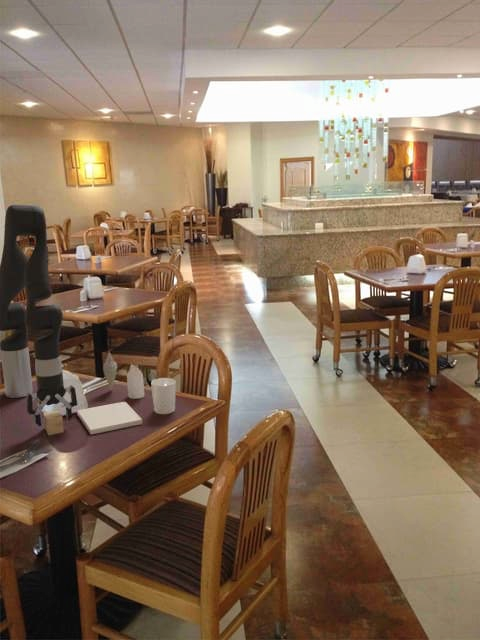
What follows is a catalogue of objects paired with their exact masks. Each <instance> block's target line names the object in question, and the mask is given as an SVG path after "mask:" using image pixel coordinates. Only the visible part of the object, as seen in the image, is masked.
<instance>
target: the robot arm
mask: <svg viewBox="0 0 480 640" xmlns="http://www.w3.org/2000/svg"><path fill="white" fill-rule="evenodd" d="M4 216H5V218H4V231H3V232H4V234H3V237H4V238H3V249H2V255H1V260H0V332H5V331H12V330H13V332H12V333H11V334H10V335H8V336H6V337H5V338H3V339H1V341H0V357H1V365H2V372H3V373H2V374H3V384H4V391H5V392H4V393H5V397H7V398H11V399H18V398H24V397H26V407H27V408H26V411H27V412H28V414H29V415H34V423H35V424H36V425H37V426H38V427H42V419H41V414H40V413H41V411H42V410H43V409H44V408H45V406H52V405H58V404H59V403H61V404H62V405H64V406H65V416H66V420H67V421H68V422H69V421H71V419H72V418H73V411H72V408H73V407H76V406H78V400H77V393H76V388H75V387H74V386H73V385H69V386H68V387H65V385H64V375H63V369H64V368H63V365H62V364H63V363H62V360H61V359H62V358H61V353H60V332H61V329H62V323H63V318H64V317H63V316H64V315H63V314H64V313H63V310H62V308H61V307H60V306H58V305H57V304H48V305H38V306H37V304H38V303H39V302H42V301H45V300H48V299H50V298H51V297H52V294H53V290H52V284H51V280H50V273H49V272H50V271H49V266H48V239H47V235H48V234H47V221H46V220H47V218H46V215H45V212H44V209H43V208H42V207H41V206H38V205H28V204H27V205H25V204H11V205H9V206H8V207H7V209H6V211H5V215H4ZM18 237H34V240H35V244H34V248H33V251H32V252H31V255H30V257H29V258H28V256H27V254H25V252H24V251H23V249H22V247H20V245H19V243H18V241H17V239H18ZM24 289H25V290H26V306H25V305H24V304H23V303H22V302H19V301H18V302H12V301H14V300H15V298H16V297H17V296H19V294H20V293H22V292H23V290H24ZM28 330H30V331H32V332H37V331H44V330H49V332H48V333H47V334H45V335H43V336H40V337H37V338H36V339H34V341H33V350H34V359H35V360H34V361H35V362H34V368H35V377H36V387H37V391H36V392H33V381H32V380H33V379H32V378H33V377H32V371H31V359H30V353H29V352H30V350H29V343H28V342H29V332H28ZM66 393H67V394H69V395H70V399H71V401H69V402H68V400H67V399H65V395H66ZM36 398H37V399H38V400H39V401H38V402H37V404H36V406H35V408H34V407H33V401H35V399H36Z"/></svg>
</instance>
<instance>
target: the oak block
mask: <svg viewBox="0 0 480 640" xmlns="http://www.w3.org/2000/svg"><path fill="white" fill-rule="evenodd" d="M63 418H64V417H63V416H62V414H61V412H60V411H59V410H55V411H49V412H43V421H44V423H43V424H44V430H45V432H46V434H47V436H52V435H57V434H63V433H64V432H65V431H64V421H63Z"/></svg>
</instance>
